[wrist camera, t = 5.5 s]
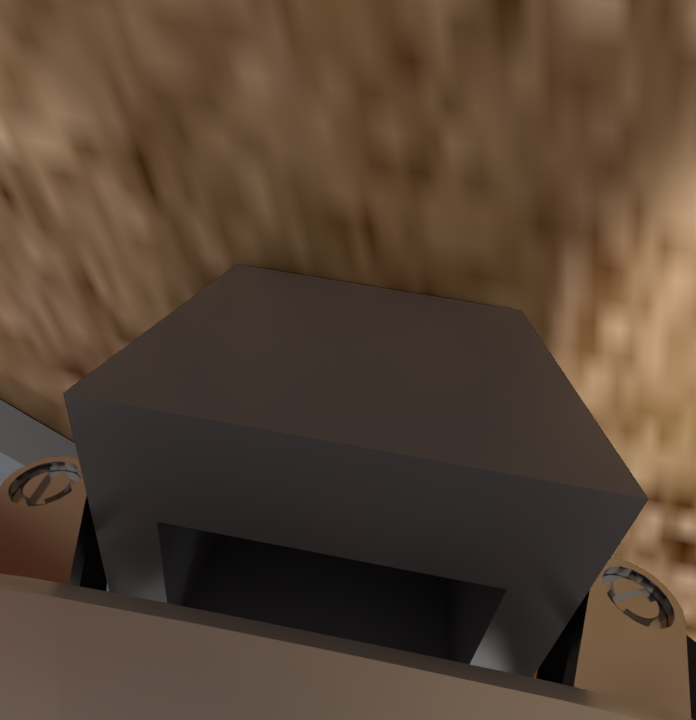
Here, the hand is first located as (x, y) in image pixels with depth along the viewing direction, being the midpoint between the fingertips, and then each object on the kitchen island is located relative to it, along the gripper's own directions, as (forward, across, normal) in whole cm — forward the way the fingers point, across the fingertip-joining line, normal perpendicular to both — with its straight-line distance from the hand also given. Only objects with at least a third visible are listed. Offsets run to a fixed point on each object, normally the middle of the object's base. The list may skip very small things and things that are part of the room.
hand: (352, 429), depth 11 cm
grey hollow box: (+1, 0, 0) cm, 1 cm away
